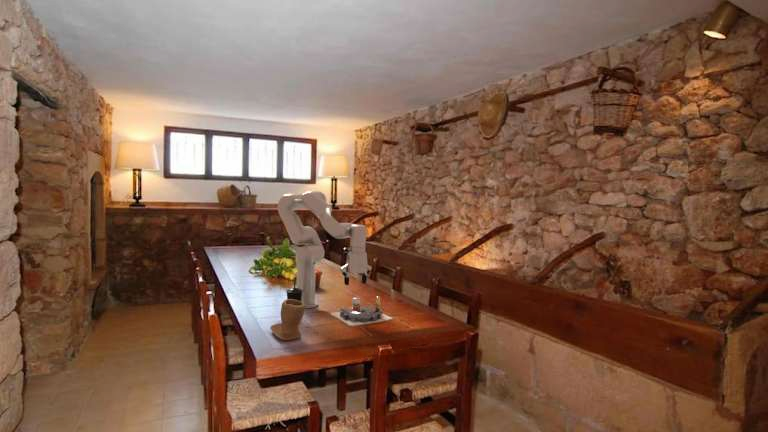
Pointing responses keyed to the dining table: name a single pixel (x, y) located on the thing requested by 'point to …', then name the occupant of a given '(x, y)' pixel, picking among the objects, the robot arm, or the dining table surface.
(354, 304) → the roller
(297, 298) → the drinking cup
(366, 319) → the sprocket
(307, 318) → the dining table surface
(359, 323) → the board
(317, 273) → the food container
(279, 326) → the brown boot
